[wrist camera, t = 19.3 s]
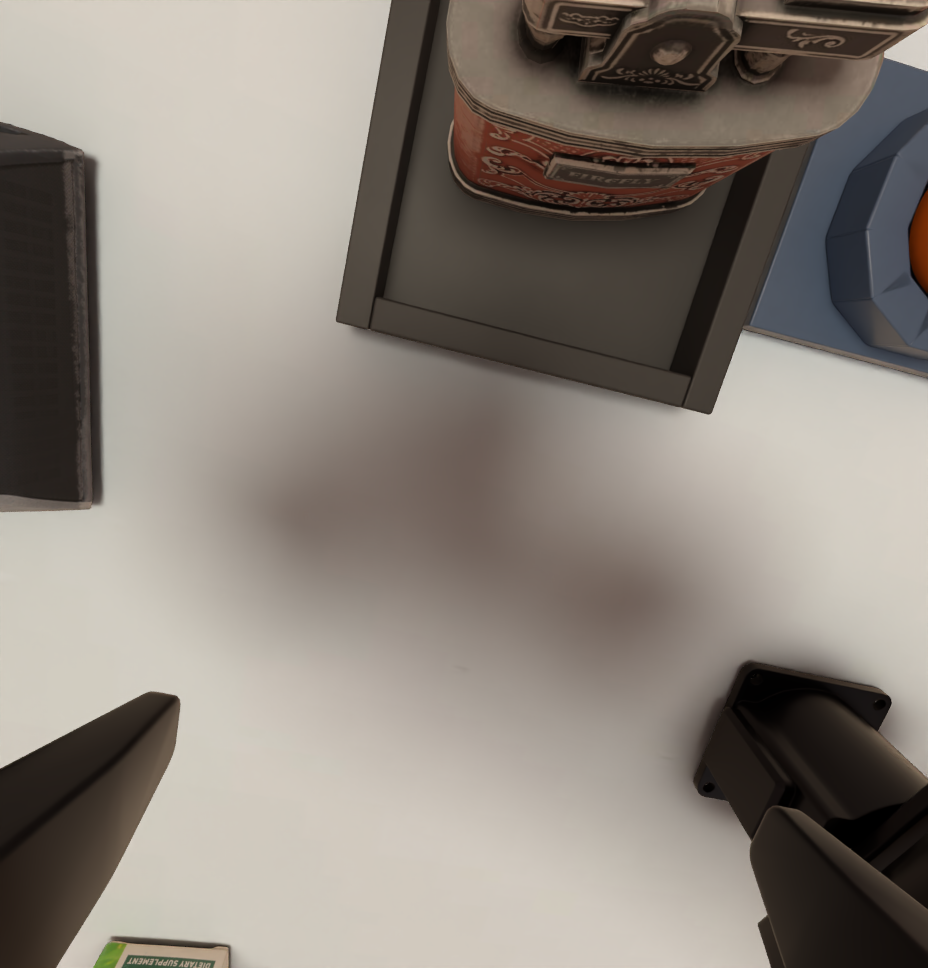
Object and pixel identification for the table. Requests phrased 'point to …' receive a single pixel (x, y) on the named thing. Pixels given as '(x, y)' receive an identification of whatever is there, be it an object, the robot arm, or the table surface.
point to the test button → (920, 243)
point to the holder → (546, 252)
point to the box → (855, 235)
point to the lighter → (650, 94)
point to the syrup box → (160, 956)
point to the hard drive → (43, 326)
